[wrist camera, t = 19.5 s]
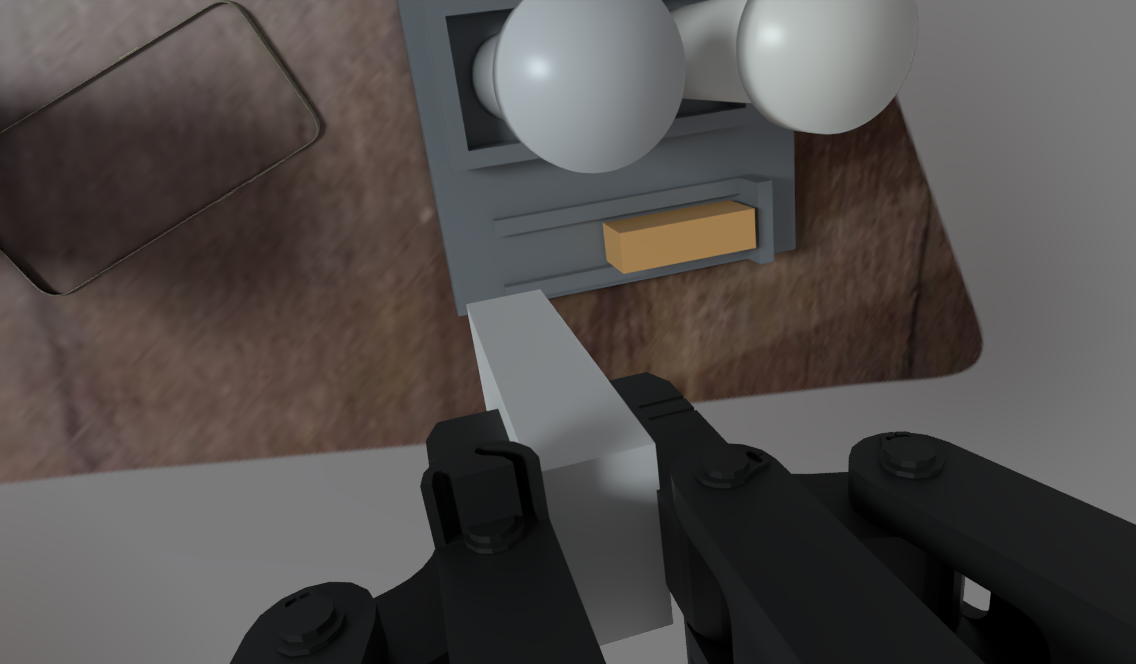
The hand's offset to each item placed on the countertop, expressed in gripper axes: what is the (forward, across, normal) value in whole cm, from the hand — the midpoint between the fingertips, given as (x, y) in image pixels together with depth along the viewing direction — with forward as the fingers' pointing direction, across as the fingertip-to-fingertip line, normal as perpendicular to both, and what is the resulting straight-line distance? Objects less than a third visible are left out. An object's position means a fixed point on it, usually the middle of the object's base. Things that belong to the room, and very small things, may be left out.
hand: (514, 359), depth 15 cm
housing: (+23, +10, +2) cm, 25 cm away
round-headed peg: (+22, +12, +5) cm, 26 cm away
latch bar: (+22, +11, -4) cm, 25 cm away
